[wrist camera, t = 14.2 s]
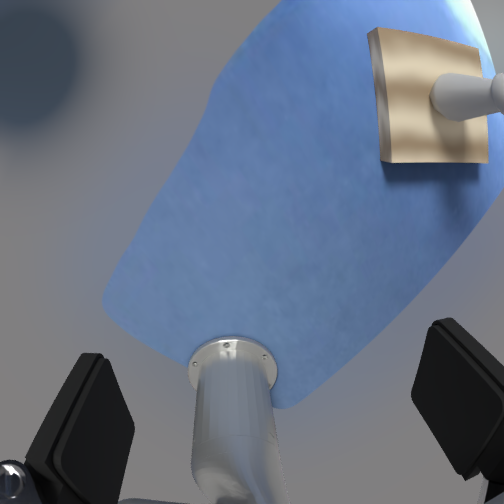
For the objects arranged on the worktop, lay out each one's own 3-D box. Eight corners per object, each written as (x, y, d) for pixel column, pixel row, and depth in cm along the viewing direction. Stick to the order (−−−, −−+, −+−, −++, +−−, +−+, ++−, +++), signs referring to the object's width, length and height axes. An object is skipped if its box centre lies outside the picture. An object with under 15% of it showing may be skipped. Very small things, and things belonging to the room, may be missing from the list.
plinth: (474, 160, 36) (488, 163, 33) (380, 160, 35) (391, 162, 32) (465, 51, 30) (478, 48, 27) (367, 33, 30) (377, 26, 27)
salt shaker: (438, 66, 28) (513, 52, 16) (466, 101, 30) (541, 101, 18) (415, 95, 30) (492, 87, 18) (444, 131, 31) (522, 138, 19)
